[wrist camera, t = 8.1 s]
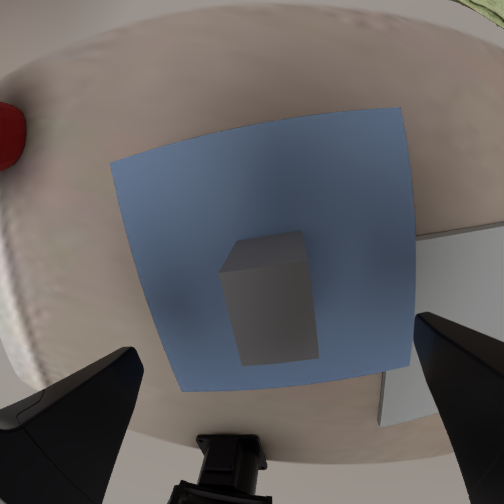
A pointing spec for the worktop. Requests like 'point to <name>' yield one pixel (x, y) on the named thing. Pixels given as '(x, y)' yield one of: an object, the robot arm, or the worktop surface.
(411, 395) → the mat
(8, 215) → the worktop surface
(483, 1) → the washcloth
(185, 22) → the worktop surface
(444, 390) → the robot arm
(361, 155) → the cover sheet
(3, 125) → the plastic cup
